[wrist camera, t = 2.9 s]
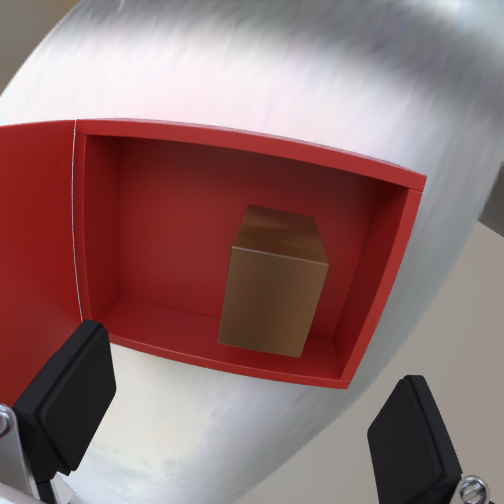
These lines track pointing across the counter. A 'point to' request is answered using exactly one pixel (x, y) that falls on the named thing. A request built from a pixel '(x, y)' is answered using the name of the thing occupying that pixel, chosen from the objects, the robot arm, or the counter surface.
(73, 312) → the lid
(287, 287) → the block
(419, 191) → the red shallow rectangular box
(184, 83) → the counter surface
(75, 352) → the robot arm
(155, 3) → the counter surface
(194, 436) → the counter surface
